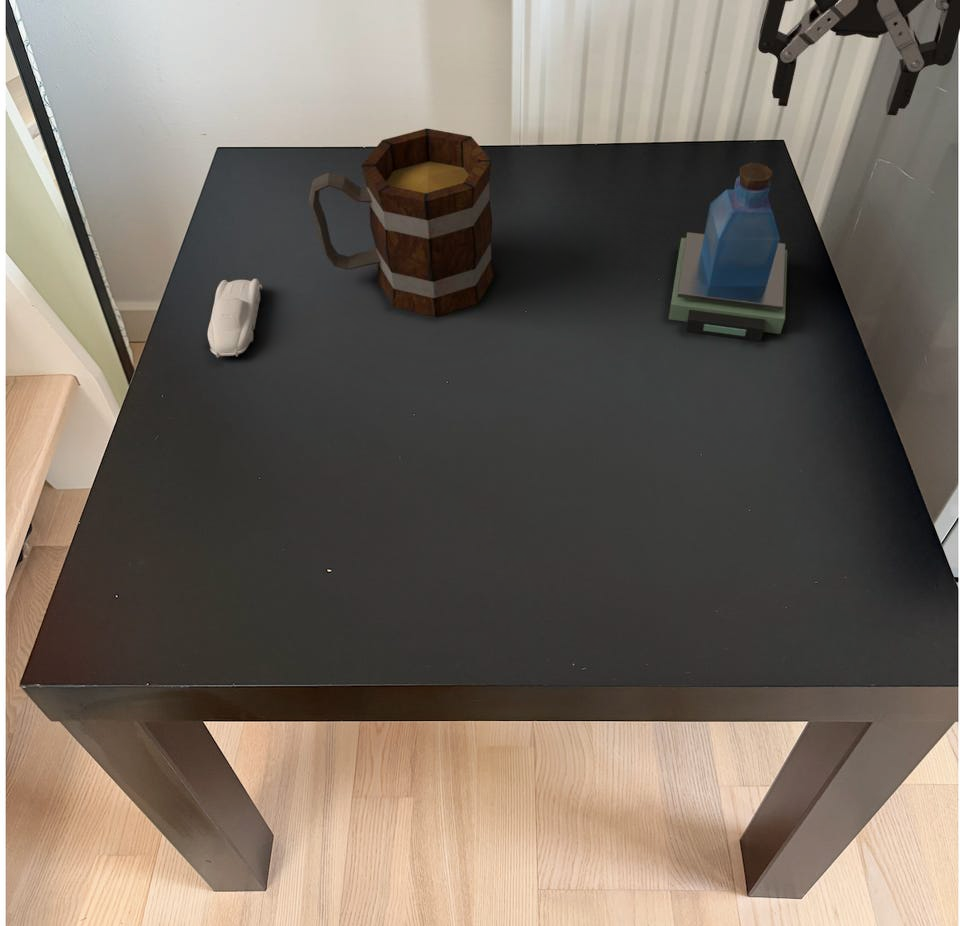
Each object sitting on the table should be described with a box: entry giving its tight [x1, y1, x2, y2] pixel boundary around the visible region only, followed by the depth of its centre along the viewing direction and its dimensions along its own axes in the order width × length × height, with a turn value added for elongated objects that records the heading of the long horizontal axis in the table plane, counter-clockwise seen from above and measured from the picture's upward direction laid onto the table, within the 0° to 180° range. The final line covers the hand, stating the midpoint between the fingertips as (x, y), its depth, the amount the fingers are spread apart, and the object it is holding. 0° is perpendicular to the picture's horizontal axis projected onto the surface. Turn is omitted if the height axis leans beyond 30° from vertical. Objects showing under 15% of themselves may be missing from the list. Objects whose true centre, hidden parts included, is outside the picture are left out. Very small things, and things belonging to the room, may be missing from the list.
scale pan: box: [677, 231, 786, 311], centre depth 100 cm, size 11×11×1 cm
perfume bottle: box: [701, 162, 781, 287], centre depth 95 cm, size 6×6×12 cm
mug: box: [308, 127, 495, 318], centre depth 100 cm, size 20×14×15 cm
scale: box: [668, 237, 788, 342], centre depth 101 cm, size 12×14×2 cm
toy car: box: [207, 278, 263, 358], centre depth 100 cm, size 5×12×4 cm, turn 2°
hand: (836, 106), depth 74 cm, fingers open, 8 cm apart
